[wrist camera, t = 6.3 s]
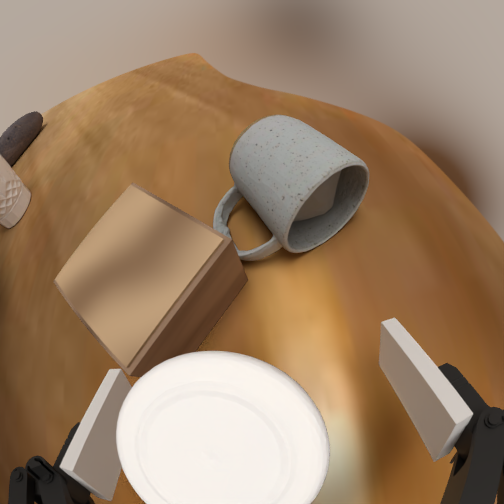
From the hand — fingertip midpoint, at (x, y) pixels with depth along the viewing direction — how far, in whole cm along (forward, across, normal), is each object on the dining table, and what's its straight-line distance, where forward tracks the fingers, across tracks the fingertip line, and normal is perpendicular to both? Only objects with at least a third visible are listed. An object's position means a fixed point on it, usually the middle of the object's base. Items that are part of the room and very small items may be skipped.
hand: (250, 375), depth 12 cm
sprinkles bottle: (+3, 0, -5) cm, 6 cm away
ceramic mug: (+12, +4, +4) cm, 13 cm away
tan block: (+9, -6, +1) cm, 11 cm away
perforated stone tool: (+34, -40, +26) cm, 59 cm away
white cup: (+21, -32, +13) cm, 40 cm away
